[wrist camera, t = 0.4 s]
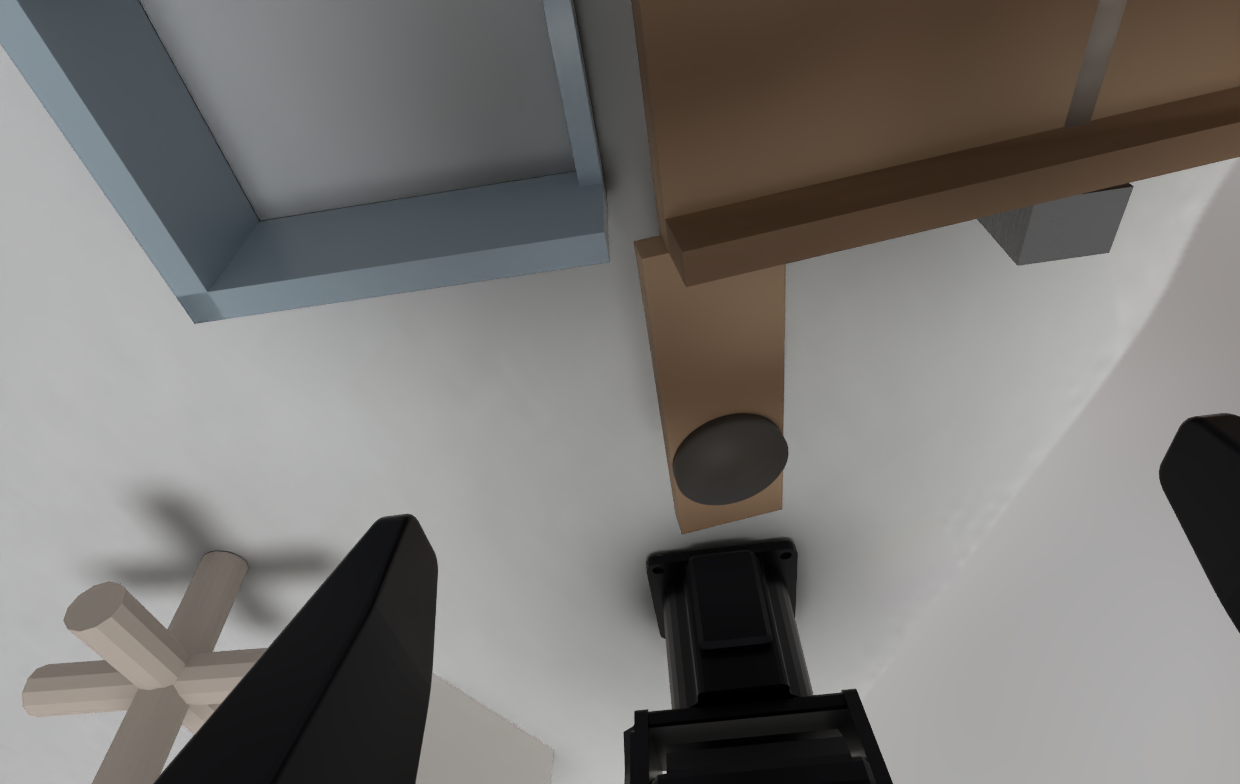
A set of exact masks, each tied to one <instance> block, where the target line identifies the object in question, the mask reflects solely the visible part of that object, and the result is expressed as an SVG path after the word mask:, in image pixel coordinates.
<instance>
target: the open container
mask: <svg viewBox="0 0 1240 784" xmlns="http://www.w3.org/2000/svg"><path fill="white" fill-rule="evenodd" d="M542 3H543V8H544V13H545V18H546V23H547V28H548V33H549V38H550V43H551V48H552V53H553V58H554V63H555V68H556V73H557V78H558V83H559V88H560V93H561V98H562V103H563V108H564V113H565V118H566V123H567V128H568V133H569V138H570V143H571V148H572V153H573V158H574V163H575V168H576V171H575V172H569V173H563V174H556V175H550V176H544V177H537V178H531V179H525V180H518V181H512V182H506V183H499V184H493V185H487V186H480V187H474V188H468V189H461V190H455V191H449V192H442V193H436V194H430V195H423V196H417V197H411V198H404V199H398V200H392V201H385V202H379V203H373V204H366V205H360V206H354V207H347V208H341V209H335V210H328V211H322V212H316V213H309V214H303V215H297V216H290V217H284V218H278V219H271V220H265V221H259V220H258V218H257V216H256V214H255V213H254V211H253V209H252V207H251V205H250V203H249V202H248V200H247V198H246V196H245V194H244V192H243V191H242V189H241V187H240V185H239V183H238V182H237V180H236V178H235V176H234V174H233V172H232V171H231V169H230V167H229V165H228V163H227V162H226V160H225V158H224V156H223V154H222V152H221V151H220V149H219V147H218V145H217V143H216V141H215V140H214V138H213V136H212V134H211V132H210V131H209V129H208V127H207V125H206V123H205V121H204V120H203V118H202V116H201V114H200V112H199V111H198V109H197V107H196V105H195V103H194V101H193V100H192V98H191V96H190V94H189V92H188V90H187V89H186V87H185V85H184V83H183V81H182V80H181V78H180V76H179V74H178V72H177V70H176V69H175V67H174V65H173V63H172V61H171V60H170V58H169V56H168V54H167V52H166V50H165V49H164V47H163V45H162V43H161V41H160V39H159V38H158V36H157V34H156V32H155V30H154V29H153V27H152V25H151V23H150V21H149V19H148V18H147V16H146V14H145V12H144V10H143V9H142V7H141V5H140V3H139V1H138V0H0V44H1V46H2V47H3V48H4V50H5V51H6V53H7V54H8V56H9V57H10V59H11V60H12V61H13V63H14V64H15V66H16V67H17V69H18V70H19V72H20V73H21V74H22V76H23V77H24V79H25V80H26V82H27V83H28V84H29V86H30V87H31V89H32V90H33V92H34V93H35V95H36V96H37V97H38V99H39V100H40V102H41V103H42V105H43V106H44V108H45V109H46V110H47V112H48V113H49V115H50V116H51V118H52V119H53V120H54V122H55V123H56V125H57V126H58V128H59V129H60V131H61V132H62V133H63V135H64V136H65V138H66V139H67V141H68V142H69V144H70V145H71V146H72V148H73V149H74V151H75V152H76V154H77V155H78V157H79V158H80V159H81V161H82V162H83V164H84V165H85V167H86V168H87V169H88V171H89V172H90V174H91V175H92V177H93V178H94V180H95V181H96V182H97V184H98V185H99V187H100V188H101V190H102V191H103V193H104V194H105V195H106V197H107V198H108V200H109V201H110V203H111V204H112V206H113V207H114V208H115V210H116V211H117V213H118V214H119V216H120V217H121V218H122V220H123V221H124V223H125V224H126V226H127V227H128V229H129V230H130V231H131V233H132V234H133V236H134V237H135V239H136V240H137V242H138V243H139V244H140V246H141V247H142V249H143V250H144V252H145V253H146V254H147V256H148V257H149V259H150V260H151V262H152V263H153V265H154V266H155V267H156V269H157V270H158V272H159V273H160V275H161V276H162V278H163V279H164V280H165V282H166V283H167V285H168V286H169V288H170V289H171V291H172V292H173V293H174V295H175V296H176V298H177V299H178V301H179V302H180V303H181V305H182V306H183V308H184V309H185V311H186V312H187V314H188V315H189V316H190V318H191V319H192V321H193V322H194V324H195V323H202V322H209V321H216V320H222V319H229V318H236V317H243V316H249V315H256V314H263V313H270V312H276V311H283V310H290V309H297V308H304V307H310V306H317V305H324V304H331V303H337V302H344V301H351V300H358V299H364V298H371V297H378V296H385V295H391V294H398V293H405V292H412V291H419V290H425V289H432V288H439V287H446V286H452V285H459V284H466V283H473V282H479V281H486V280H493V279H500V278H507V277H513V276H520V275H527V274H534V273H540V272H547V271H554V270H561V269H567V268H574V267H581V266H588V265H595V264H601V263H608V262H610V257H609V234H608V211H607V193H606V188H605V182H604V176H603V170H602V164H601V159H600V153H599V147H598V141H597V136H596V130H595V124H594V118H593V112H592V107H591V101H590V95H589V89H588V84H587V78H586V72H585V66H584V61H583V55H582V49H581V43H580V37H579V32H578V26H577V20H576V14H575V9H574V3H573V0H542Z"/></svg>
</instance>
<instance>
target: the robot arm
mask: <svg viewBox="0 0 1240 784" xmlns="http://www.w3.org/2000/svg"><path fill="white" fill-rule="evenodd" d="M1159 479H1160V483H1161V486H1162V488H1163V491H1164V493H1165V495H1166V497H1167V499H1168V500H1169V502H1170V504H1171V506H1172V508H1173V510H1174V512H1175V514H1176V516H1177V518H1178V520H1179V522H1180V524H1181V526H1182V528H1183V530H1184V532H1185V534H1186V536H1187V538H1188V540H1189V542H1190V544H1191V546H1192V548H1193V549H1194V551H1195V554H1196V555H1197V558H1198V559H1199V562H1200V564H1201V565H1202V567H1203V569H1204V571H1205V573H1206V575H1207V577H1208V579H1209V581H1210V583H1211V585H1212V587H1213V589H1214V591H1215V593H1216V594H1217V596H1218V598H1219V600H1220V602H1221V604H1222V605H1223V607H1224V608H1225V610H1226V612H1227V613H1228V615H1229V617H1230V618H1231V620H1232V622H1233V623H1234V625H1235V626H1236V628H1237V630H1238V631H1239V633H1240V417H1239V416H1237V415H1233V414H1228V413H1220V414H1211V415H1203V416H1195V417H1191V418H1188V419H1187V420H1185V421H1184V422H1183V423H1182V424H1181V426H1180V427H1179V429H1178V431H1177V433H1176V435H1175V437H1174V439H1173V441H1172V443H1171V445H1170V447H1169V449H1168V451H1167V453H1166V455H1165V457H1164V459H1163V460H1162V463H1161V465H1160V469H1159ZM797 557H798V554H797V550H796V547H795V544H794V543H793V542H789V541H781V542H773V543H764V544H756V545H747V546H738V547H730V548H721V549H712V550H704V551H695V552H687V553H678V554H669V555H661V556H654V557H651V558H649V559H648V560H647V561H646V569H647V575H648V580H649V585H650V589H651V594H652V599H653V603H654V608H655V612H656V617H657V622H658V626H659V631H660V635H661V637H662V638H664V639H666V648H667V659H668V670H669V682H670V693H671V704H672V710H662V711H652V712H649V711H648V709H647V710H637V711H635V713H634V719H635V724H634V726H633V727H631V728H630V729H628V730H626V731H625V732H624V754H625V783H624V784H893V783H892V780H891V777H890V775H889V772H888V770H887V768H886V765H885V762H884V759H883V757H882V754H881V752H880V749H879V746H878V744H877V741H876V739H875V736H874V734H873V731H872V728H871V726H870V723H869V721H868V718H867V716H866V713H865V710H864V708H863V705H862V703H861V700H860V697H859V695H858V692H857V690H856V689H848V690H842V691H841V693H833V694H823V695H813V691H812V687H811V683H810V679H809V675H808V671H807V667H806V663H805V658H804V654H803V650H802V646H801V642H800V638H799V634H798V630H797V626H796V622H795V607H796V582H797ZM437 580H438V564H437V558H436V555H435V552H434V550H433V548H432V546H431V544H430V542H429V541H428V539H427V537H426V535H425V533H424V531H423V529H422V527H421V525H420V523H419V522H418V520H417V519H416V517H414V516H413V515H411V514H402V515H394V516H386V517H382V518H380V519H378V520H377V521H376V522H375V523H374V524H373V525H372V526H371V527H370V528H369V530H368V531H367V532H366V533H365V534H364V536H363V537H362V538H361V539H360V540H359V541H358V543H357V544H356V545H355V546H354V547H353V548H352V550H351V551H350V552H349V553H348V554H347V556H346V557H345V558H344V559H343V560H342V561H341V563H340V564H339V565H338V566H337V567H336V569H335V570H334V571H333V572H332V573H331V574H330V576H329V577H328V578H327V579H326V580H325V581H324V583H323V584H322V585H321V586H320V587H319V589H318V590H317V591H316V592H315V593H314V594H313V596H312V597H311V598H310V599H309V600H308V602H307V603H306V604H305V605H304V606H303V607H302V609H301V610H300V611H299V612H298V613H297V614H296V616H295V617H294V618H293V619H292V620H291V622H290V623H289V624H288V625H287V626H286V627H285V629H284V630H283V631H282V632H281V633H280V635H279V636H278V637H277V638H276V639H275V640H274V642H273V643H272V644H271V645H270V646H269V647H268V649H267V650H266V651H265V652H264V653H263V655H262V656H261V657H260V658H259V659H258V660H257V662H256V663H255V664H254V665H253V666H252V668H251V669H250V670H249V671H248V672H247V673H246V675H245V676H244V677H243V678H242V679H241V680H240V682H239V683H238V684H237V685H236V686H235V688H234V689H233V690H232V691H231V692H230V693H229V695H228V696H227V697H226V698H225V699H224V701H223V702H222V703H221V704H220V705H219V706H218V708H217V709H216V710H215V711H214V712H213V713H212V715H211V716H210V717H209V718H208V719H207V721H206V722H205V723H204V724H203V725H202V726H201V728H200V729H199V730H198V731H197V732H196V734H195V735H194V736H193V737H192V738H191V739H190V741H189V742H188V743H187V744H186V745H185V746H184V748H183V749H182V750H181V751H180V752H179V754H178V755H177V756H176V757H175V758H174V759H173V761H172V762H171V763H170V764H169V765H168V767H167V768H166V769H165V770H164V771H163V772H162V774H161V775H160V776H159V777H158V778H157V779H156V781H155V782H154V783H153V784H416V778H417V772H418V766H419V760H420V754H421V748H422V742H423V736H424V730H425V724H426V718H427V712H428V706H429V699H430V692H431V682H432V669H433V652H434V634H435V616H436V598H437ZM662 771H667V774H662Z"/></svg>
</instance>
